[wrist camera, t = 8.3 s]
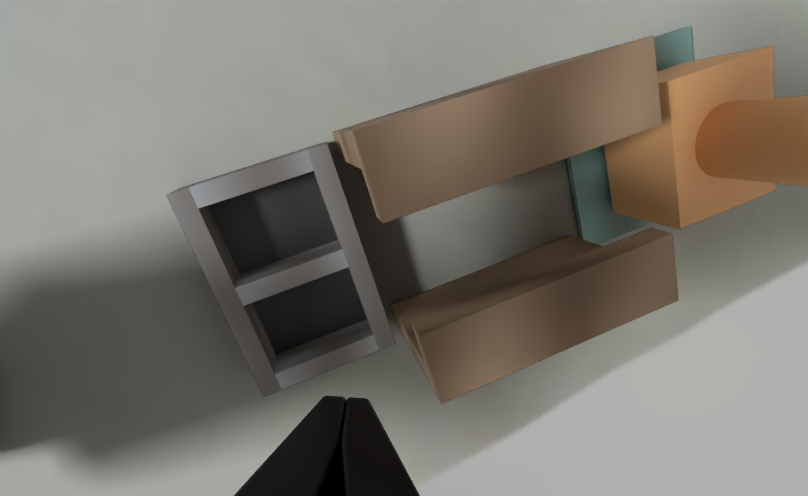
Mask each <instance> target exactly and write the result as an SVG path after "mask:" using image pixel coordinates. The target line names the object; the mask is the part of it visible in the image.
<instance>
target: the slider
mask: <svg viewBox="0 0 808 496" xmlns="http://www.w3.org/2000/svg"><path fill="white" fill-rule="evenodd" d="M657 77H658V87H659V98H660V109H661V119H662V124H661V125H658V126H655V127H653V128H650V129H647V130H644V131H641V132H639V133H636V134H633V135H630V136H627V137H624V138H622V139H619V140H616V141H613V142H610V143H608V144H605V145H604V149H605V156H606V163H607V171H608V178H609V185H610V192H611V199H612V207H613V213H616V214H620V215H625V216H629V217H633V218H637V219H641V220H645V221H649V222H654V223H658V224H662V225H666V226H670V227H674V228H679V229H682V228H684V227H687V226H689V225H692V224H694V223H697V222H699V221H702V220H704V219H707V218H709V217H712V216H714V215H716V214H719V213H721V212H724V211H726V210H729V209H731V208H734V207H736V206H739V205H741V204H744V203H746V202H748V201H751V200H753V199H756V198H758V197H761V196H763V195H766V194H768V193H771V192H773V191H775V183H776V184H786V185H796V186H806V187H808V96H796V97H783V98H774V49H773V46H770V47H765V48H759V49H754V50H749V51H743V52H738V53H732V54H727V55H721V56H716V57H711V58H705V59H700V60H694V61H689V62H684V63H681V64H678V65H675V66H672V67H669V68H666V69H663V70H660V71H657Z"/></svg>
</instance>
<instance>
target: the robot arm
mask: <svg viewBox="0 0 808 496" xmlns="http://www.w3.org/2000/svg"><path fill="white" fill-rule="evenodd" d="M234 496H420V495H419V493H418V492H417V490H416V488H415V486H414V484H413V482H412V480H411V478H410V477H409V475H408V473H407V471H406V469H405V467H404V465H403V463H402V462H401V460H400V458H399V456H398V454H397V452H396V450H395V448H394V446H393V445H392V443H391V441H390V439H389V437H388V435H387V433H386V431H385V430H384V428H383V426H382V424H381V422H380V420H379V418H378V416H377V415H376V413H375V411H374V409H373V407H372V405H371V403H370V402H369V400H368V399H365V398H351V397H350V398H348V399H347V400H346V399H345V398H344V397H338V396H325V397H323V398H322V399H321V400H320V401H319V402H318V404H317V405H316V406H315V407H314V408H313V409H312V410H311V411H310V412H309V413H308V415H307V416H306V417H305V418H304V419H303V420H302V421H301V422H300V423H299V424H298V426H297V427H296V428H295V429H294V430H293V431H292V432H291V433H290V434H289V435H288V437H287V438H286V439H285V440H284V441H283V442H282V443H281V444H280V445H279V446H278V448H277V449H276V450H275V451H274V452H273V453H272V454H271V455H270V456H269V457H268V459H267V460H266V461H265V462H264V463H263V464H262V465H261V466H260V467H259V468H258V470H257V471H256V472H255V473H254V474H253V475H252V476H251V477H250V478H249V479H248V481H247V482H246V483H245V484H244V485H243V486H242V487H241V488H240V489H239V490H238V492H237V493H236V494H235V495H234Z"/></svg>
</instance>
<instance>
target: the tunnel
mask: <svg viewBox="0 0 808 496" xmlns="http://www.w3.org/2000/svg"><path fill="white" fill-rule="evenodd" d="M689 61H693V47H692V32H691V26H689V27H686V28H683V29H680V30H676V31H673V32H670V33H667V34H664V35H661V36H657V37H654V36H650V37H646V38H643V39H639V40H635V41H632V42H628V43H624V44H621V45H617V46H613V47H610V48H606V49H603V50H599V51H595V52H592V53H588V54H584V55H581V56H577V57H573V58H570V59H566V60H562V61H559V62H555V63H551V64H548V65H544V66H541V67H537V68H534V69H531V70H528V71H525V72H521V73H518V74H515V75H512V76H509V77H506V78H502V79H499V80H496V81H493V82H490V83H487V84H483V85H480V86H477V87H474V88H471V89H468V90H464V91H461V92H458V93H455V94H452V95H448V96H445V97H442V98H439V99H436V100H433V101H429V102H426V103H423V104H420V105H417V106H414V107H410V108H407V109H404V110H401V111H398V112H394V113H391V114H388V115H385V116H382V117H379V118H375V119H372V120H369V121H366V122H363V123H360V124H356V125H353V126H350V127H347V128H344V129H340V130H337V131H334V132H332V133H333V136H334V139H335V142H336V145H337V148H338V151H339V154H340V157H341V160H343V161H345V162H347V163H349V164H351V165H353V166H356V167H358V168H360V169H362V172H363V175H364V178H365V182H366V185H367V188H368V191H369V194H370V197H371V200H372V203H373V206H374V209H375V212H376V215H377V218H378V219H379V220H380V221H381V222H382V223H386V222H389V221H392V220H395V219H397V218H400V217H403V216H406V215H409V214H411V213H414V212H417V211H420V210H423V209H425V208H428V207H431V206H434V205H437V204H439V203H442V202H445V201H448V200H451V199H453V198H456V197H459V196H462V195H465V194H467V193H470V192H473V191H476V190H479V189H482V188H484V187H487V186H490V185H493V184H496V183H498V182H501V181H504V180H507V179H510V178H512V177H515V176H518V175H521V174H524V173H526V172H529V171H532V170H535V169H538V168H540V167H543V166H546V165H549V164H552V163H554V162H557V161H560V160H563V159H567V165H568V171H569V177H570V183H571V189H572V195H573V201H574V207H575V213H576V219H577V224H578V230H579V236H580V238H578V237H575V236H572V235H569V236H566V237H564V238H561V239H559V240H556V241H554V242H551V243H548V244H546V245H543V246H541V247H538V248H536V249H533V250H530V251H528V252H525V253H523V254H520V255H518V256H515V257H513V258H510V259H507V260H505V261H502V262H500V263H497V264H495V265H492V266H489V267H487V268H484V269H482V270H479V271H477V272H474V273H471V274H469V275H466V276H464V277H461V278H459V279H456V280H453V281H451V282H448V283H446V284H443V285H441V286H438V287H435V288H433V289H430V290H428V291H425V292H423V293H420V294H417V295H415V296H412V297H410V298H407V299H405V300H402V301H400V302H397V303H394V304H392V305H391V308H392V311H393V314H394V317H395V320H396V323H397V326H398V328H399V329H400V331H401V333H402V335H403V337H404V338H405V340H406V342H407V344H408V345H409V347H410V349H411V351H412V352H413V354H414V356H415V358H416V360H417V361H418V363H419V365H420V367H421V368H422V370H423V372H424V374H425V376H426V377H427V379H428V381H429V383H430V384H431V386H432V388H433V390H434V392H435V393H436V395H437V397H438V399H439V400H440V402H441V404H442V403H444V402H447V401H449V400H451V399H454V398H456V397H458V396H460V395H463V394H465V393H467V392H470V391H472V390H474V389H477V388H479V387H481V386H483V385H486V384H488V383H490V382H493V381H495V380H497V379H499V378H502V377H504V376H506V375H509V374H511V373H513V372H515V371H518V370H520V369H522V368H525V367H527V366H529V365H531V364H534V363H536V362H538V361H541V360H543V359H545V358H548V357H550V356H552V355H554V354H557V353H559V352H561V351H564V350H566V349H568V348H570V347H573V346H575V345H577V344H580V343H582V342H584V341H586V340H589V339H591V338H593V337H596V336H598V335H600V334H602V333H605V332H607V331H609V330H612V329H614V328H616V327H619V326H621V325H623V324H625V323H628V322H630V321H632V320H635V319H637V318H639V317H641V316H644V315H646V314H648V313H651V312H653V311H655V310H657V309H660V308H662V307H664V306H667V305H669V304H671V303H673V302H676V301H678V300H679V299H678V288H677V278H676V267H675V257H674V246H673V236H672V233H668V232H664V231H661V230H657V229H653V228H649V229H647V230H644V231H642V232H639V233H637V234H634V235H632V236H629V237H627V238H624V239H622V240H619V241H617V242H614V243H612V244H609V245H607V246H604V247H603V246H600V245H597V244H598V243H601V242H603V241H606V240H609V239H611V238H614V237H616V236H619V235H621V234H624V233H626V232H629V231H631V230H634V229H636V228H639V227H641V226H644V225H646V224H649V223H651V222H649V221H645V220H641V219H637V218H633V217H629V216H625V215H620V214H616V213H613V207H612V199H611V192H610V185H609V178H608V171H607V163H606V156H605V149H604V145H605V144H608V143H610V142H613V141H616V140H619V139H622V138H624V137H627V136H630V135H633V134H636V133H639V132H641V131H644V130H647V129H650V128H653V127H655V126H658V125H661V124H662V119H661V109H660V98H659V87H658V77H657V71H660V70H663V69H666V68H669V67H672V66H675V65H678V64H681V63H684V62H689ZM166 196H167V198H168V200H169V202H170V204H171V206H172V208H173V211H174V213H175V215H176V217H177V219H178V221H179V223H180V225H181V227H182V229H183V231H184V233H185V235H186V238H187V240H188V242H189V244H190V246H191V248H192V250H193V252H194V254H195V256H196V258H197V260H198V262H199V265H200V267H201V269H202V271H203V273H204V275H205V277H206V279H207V281H208V283H209V285H210V287H211V289H212V292H213V294H214V296H215V298H216V300H217V302H218V304H219V306H220V308H221V310H222V312H223V314H224V316H225V319H226V321H227V323H228V325H229V327H230V329H231V331H232V333H233V335H234V337H235V339H236V341H237V343H238V346H239V348H240V350H241V352H242V354H243V356H244V358H245V360H246V362H247V364H248V366H249V368H250V370H251V372H252V375H253V377H254V379H255V381H256V383H257V385H258V387H259V389H260V391H261V393H262V395H263V397H265V396H267V395H270V394H272V393H275V392H277V391H280V390H282V389H285V388H287V387H290V386H292V385H294V384H297V383H299V382H302V381H304V380H307V379H309V378H312V377H314V376H317V375H319V374H322V373H324V372H327V371H329V370H331V369H334V368H336V367H339V366H341V365H344V364H346V363H349V362H351V361H354V360H356V359H359V358H361V357H364V356H366V355H368V354H371V353H373V352H376V351H378V350H381V349H383V348H386V347H388V346H391V345H393V344H396V342H395V340H394V337H393V334H392V331H391V328H390V325H389V322H388V319H387V316H386V313H385V310H384V308H383V305H382V302H381V299H380V296H379V293H378V290H377V287H376V284H375V281H374V278H373V276H372V273H371V270H370V267H369V264H368V261H367V258H366V255H365V252H364V249H363V246H362V244H361V241H360V238H359V235H358V232H357V229H356V226H355V223H354V220H353V217H352V214H351V212H350V209H349V206H348V203H347V200H346V197H345V194H344V191H343V188H342V185H341V183H340V180H339V177H338V174H337V171H336V168H335V165H334V162H333V159H332V156H331V153H330V151H329V148H328V145H327V143H321V144H318V145H315V146H311V147H308V148H305V149H302V150H299V151H296V152H293V153H289V154H286V155H283V156H280V157H277V158H274V159H271V160H267V161H264V162H261V163H258V164H255V165H252V166H249V167H245V168H242V169H239V170H236V171H233V172H230V173H226V174H223V175H220V176H217V177H214V178H211V179H208V180H204V181H201V182H198V183H195V184H192V185H189V186H186V187H182V188H179V189H177V190H175V191H173V192H171V193H169V194H167V195H166Z"/></svg>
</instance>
